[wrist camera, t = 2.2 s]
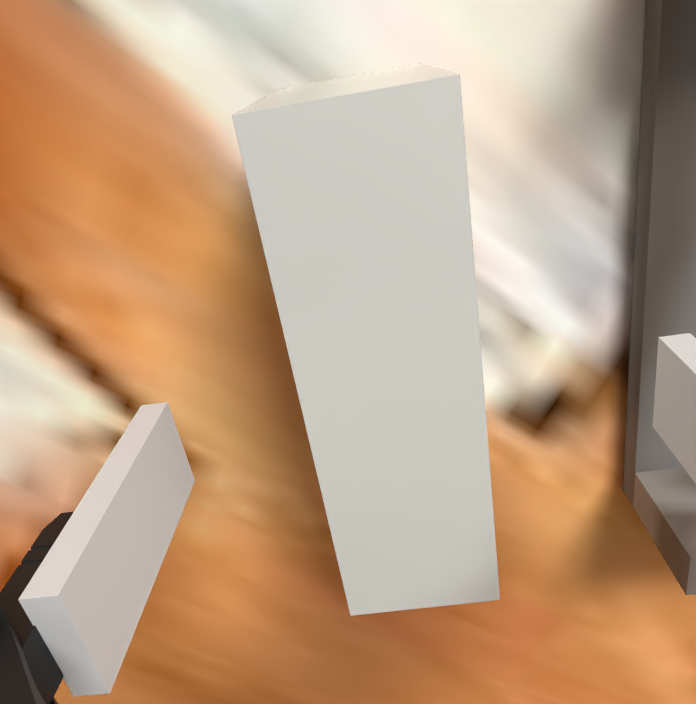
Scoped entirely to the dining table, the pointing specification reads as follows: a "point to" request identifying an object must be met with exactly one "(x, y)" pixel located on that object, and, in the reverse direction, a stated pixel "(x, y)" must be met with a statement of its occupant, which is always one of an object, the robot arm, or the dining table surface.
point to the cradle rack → (663, 276)
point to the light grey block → (381, 324)
